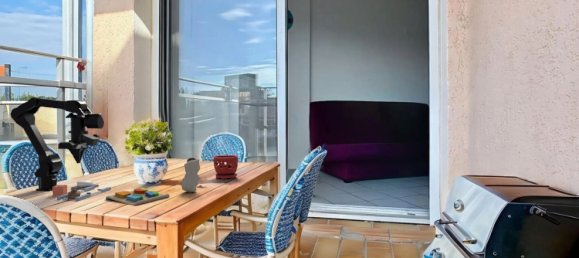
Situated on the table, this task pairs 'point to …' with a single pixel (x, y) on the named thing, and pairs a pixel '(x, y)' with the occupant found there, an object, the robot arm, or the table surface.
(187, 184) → the figurine
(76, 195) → the pawn
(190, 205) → the table surface
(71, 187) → the dome base
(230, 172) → the plant pot
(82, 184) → the dome
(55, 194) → the die
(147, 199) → the shape sorting puzzle
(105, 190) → the lane
